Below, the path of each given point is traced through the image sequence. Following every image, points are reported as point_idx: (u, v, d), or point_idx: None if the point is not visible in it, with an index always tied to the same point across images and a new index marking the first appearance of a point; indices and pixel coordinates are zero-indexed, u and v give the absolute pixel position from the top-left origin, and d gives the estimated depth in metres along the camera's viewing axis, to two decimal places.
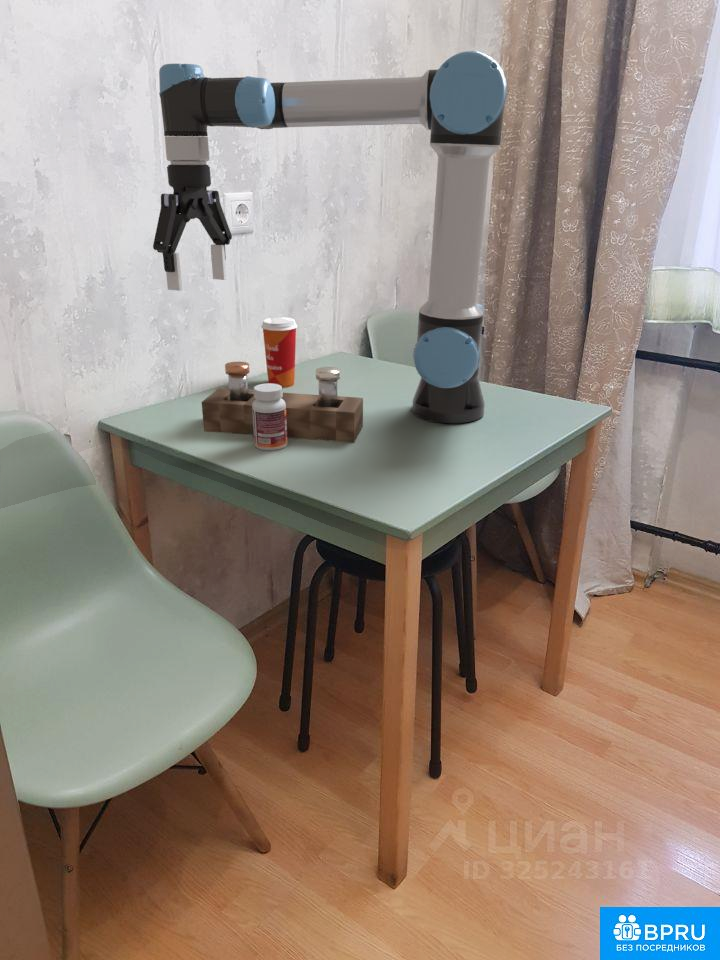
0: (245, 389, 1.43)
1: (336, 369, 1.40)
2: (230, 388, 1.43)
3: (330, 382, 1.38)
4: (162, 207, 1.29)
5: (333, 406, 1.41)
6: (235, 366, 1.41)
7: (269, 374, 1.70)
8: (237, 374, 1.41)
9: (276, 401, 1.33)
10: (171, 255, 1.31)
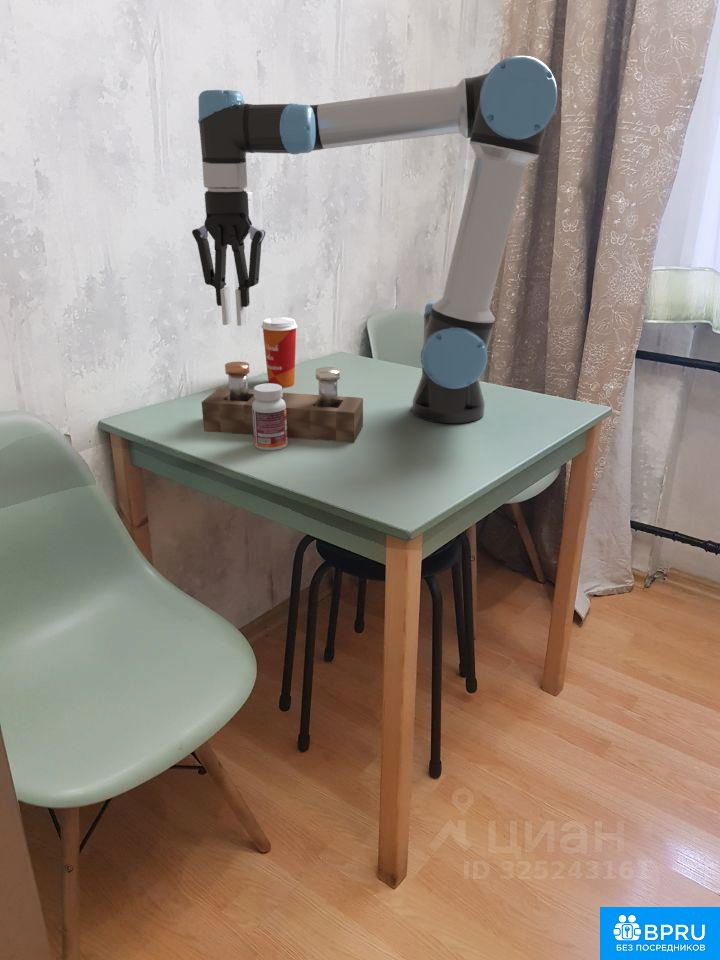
0: (245, 389, 1.43)
1: (336, 369, 1.40)
2: (230, 388, 1.43)
3: (330, 382, 1.38)
4: None
5: (333, 406, 1.41)
6: (235, 366, 1.41)
7: (269, 374, 1.70)
8: (237, 374, 1.41)
9: (276, 401, 1.33)
10: (218, 290, 1.36)
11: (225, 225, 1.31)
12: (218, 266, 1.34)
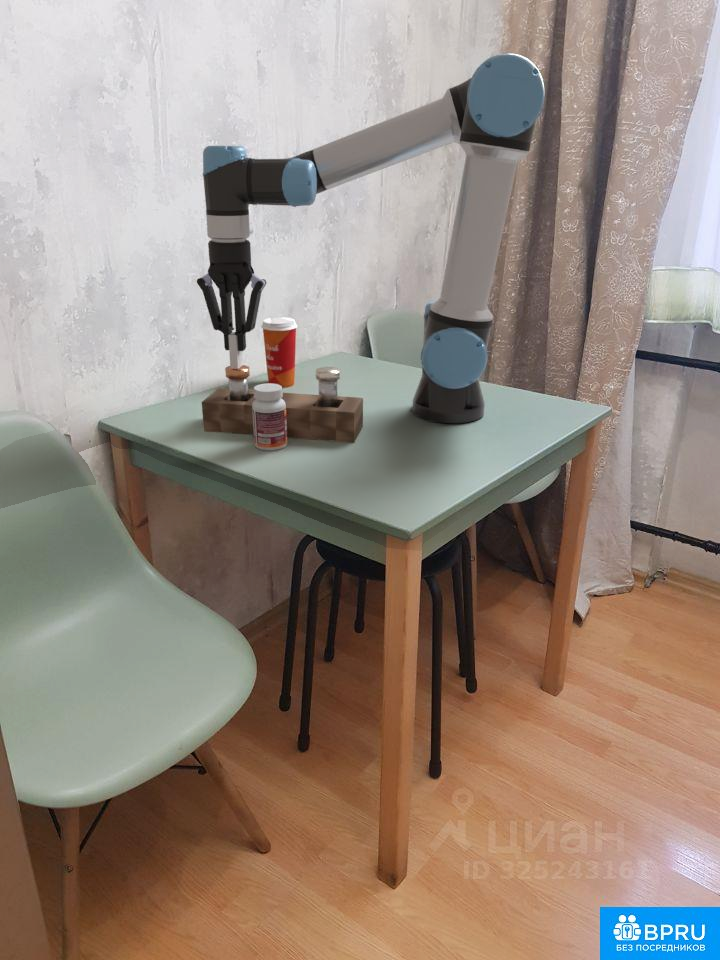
0: (245, 392, 1.43)
1: (336, 369, 1.40)
2: (230, 391, 1.43)
3: (330, 382, 1.38)
4: None
5: (333, 406, 1.41)
6: (235, 369, 1.41)
7: (269, 374, 1.70)
8: (237, 377, 1.41)
9: (276, 401, 1.33)
10: (226, 335, 1.39)
11: (228, 273, 1.34)
12: (224, 312, 1.37)
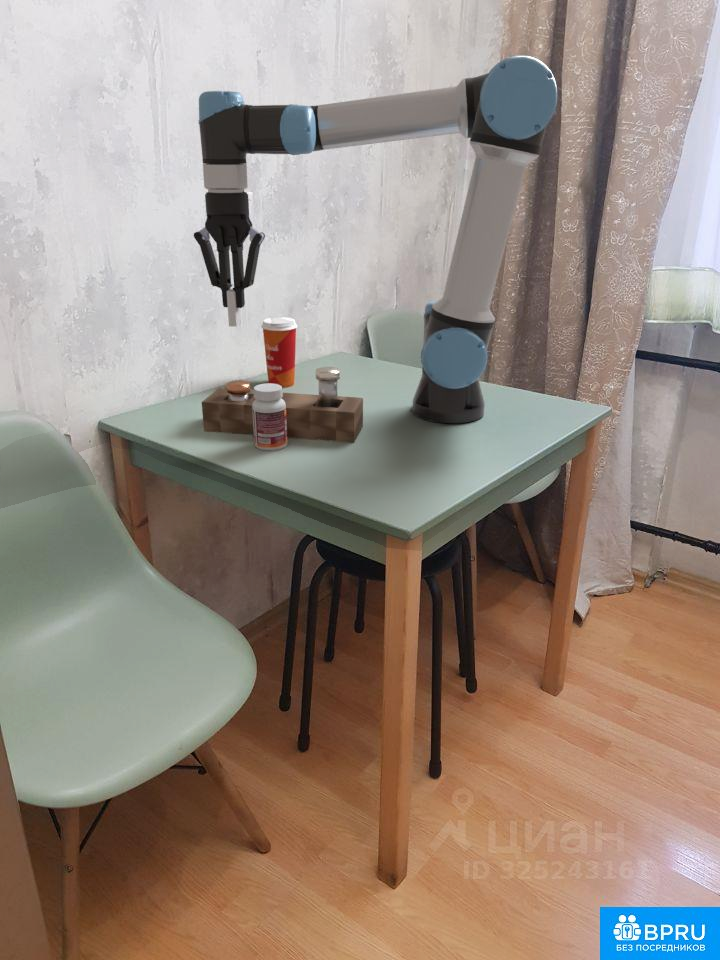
0: None
1: (336, 369, 1.40)
2: None
3: (330, 382, 1.38)
4: None
5: (333, 406, 1.41)
6: (236, 385, 1.43)
7: (269, 374, 1.70)
8: (238, 393, 1.42)
9: (276, 401, 1.33)
10: (225, 291, 1.36)
11: (226, 226, 1.31)
12: (222, 267, 1.34)
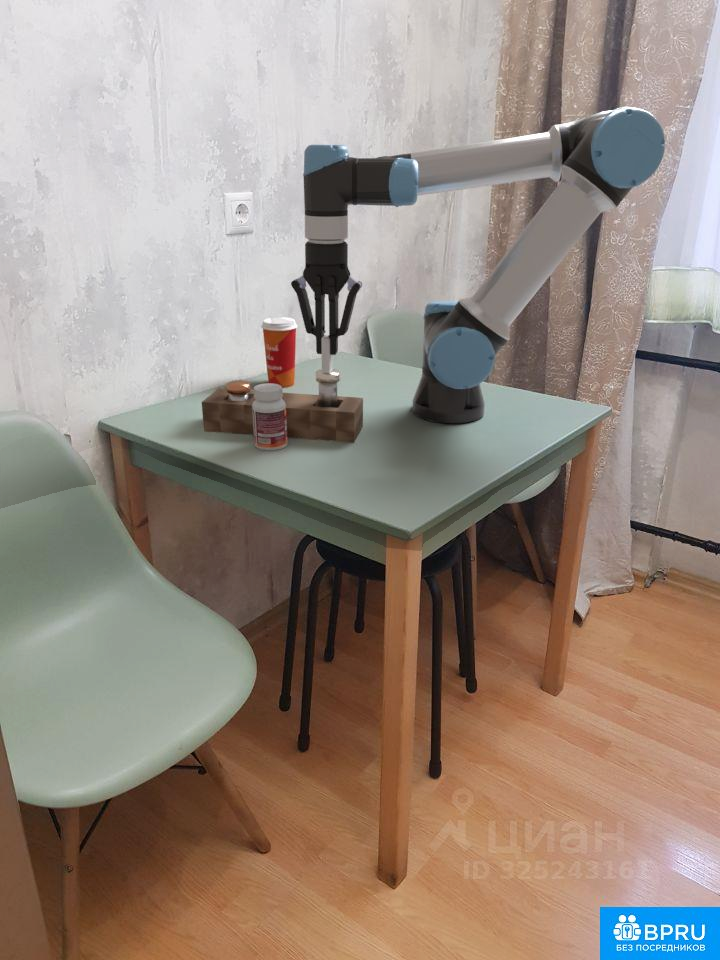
0: None
1: (336, 371, 1.40)
2: None
3: (330, 384, 1.39)
4: None
5: None
6: (236, 385, 1.43)
7: (269, 374, 1.70)
8: (238, 393, 1.42)
9: (276, 401, 1.33)
10: (319, 338, 1.36)
11: (324, 275, 1.31)
12: (318, 315, 1.34)
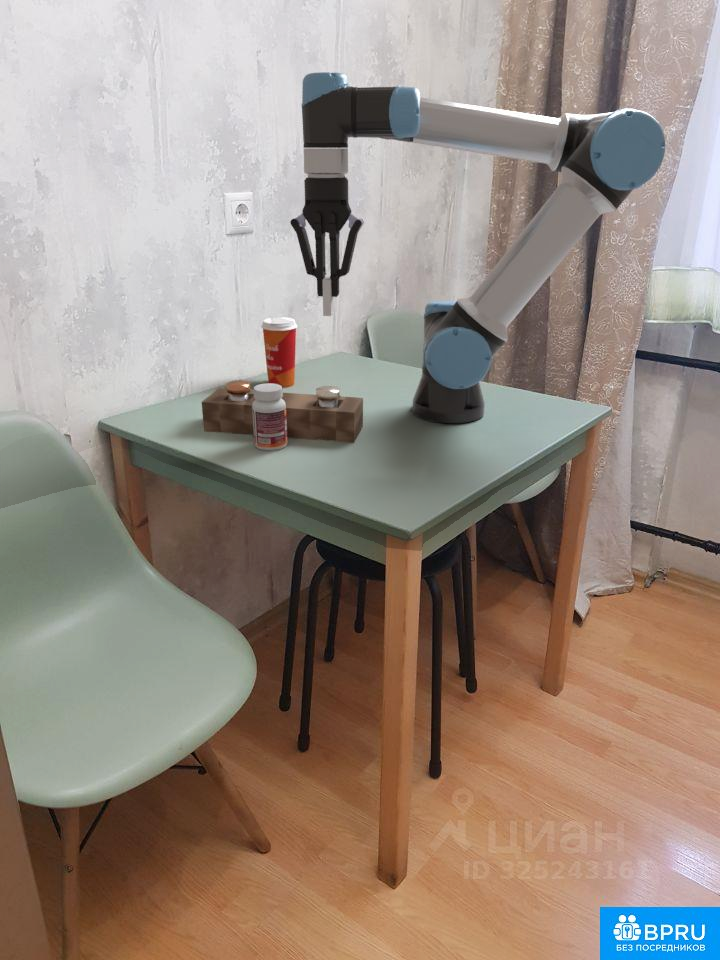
0: None
1: (336, 388, 1.41)
2: None
3: (330, 402, 1.40)
4: None
5: None
6: (236, 385, 1.43)
7: (269, 374, 1.70)
8: (238, 393, 1.42)
9: (276, 401, 1.33)
10: (320, 280, 1.33)
11: (324, 212, 1.27)
12: (319, 255, 1.30)
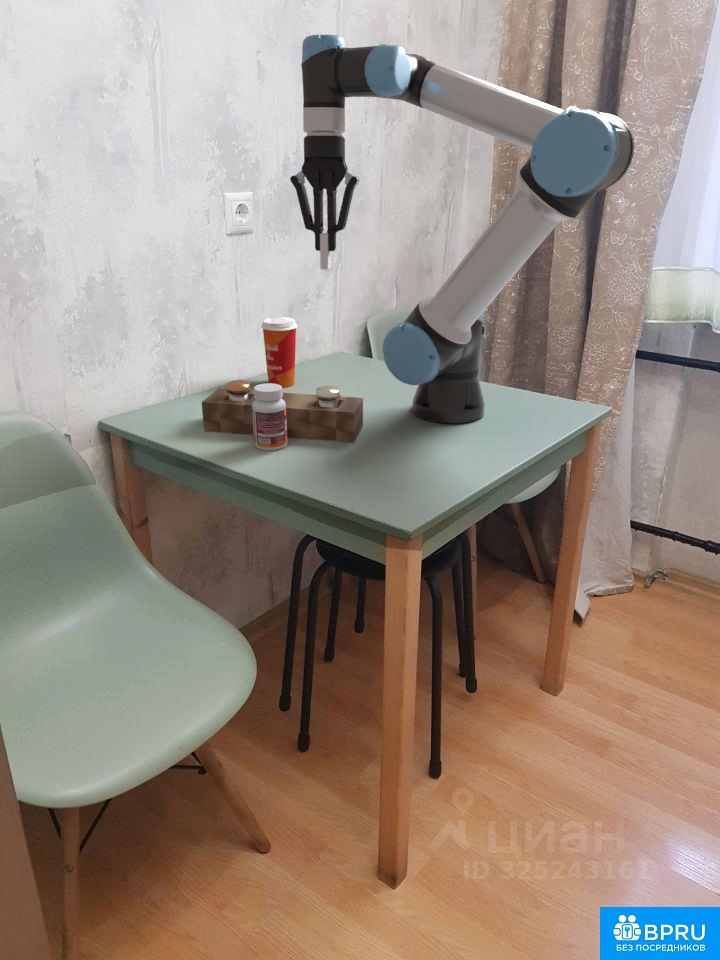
0: None
1: (336, 388, 1.41)
2: None
3: (330, 402, 1.40)
4: None
5: None
6: (236, 385, 1.43)
7: (269, 374, 1.70)
8: (238, 393, 1.42)
9: (276, 401, 1.33)
10: (318, 235, 1.40)
11: (322, 169, 1.35)
12: (317, 210, 1.38)
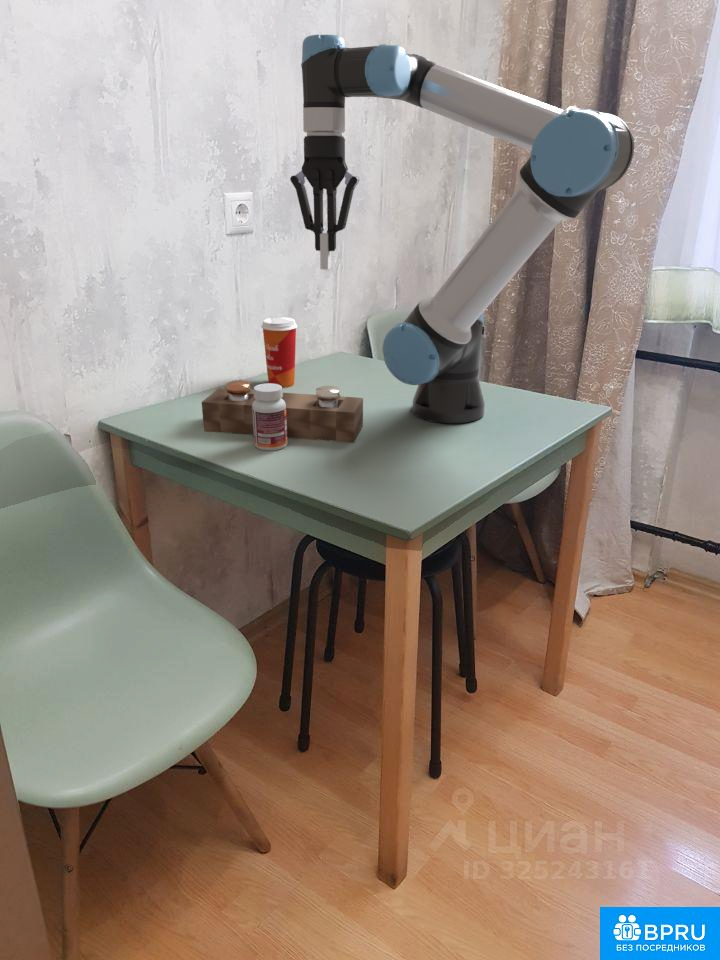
0: None
1: (336, 388, 1.41)
2: None
3: (330, 402, 1.40)
4: None
5: None
6: (236, 385, 1.43)
7: (269, 374, 1.70)
8: (238, 393, 1.42)
9: (276, 401, 1.33)
10: (318, 235, 1.40)
11: (322, 169, 1.35)
12: (317, 210, 1.38)
